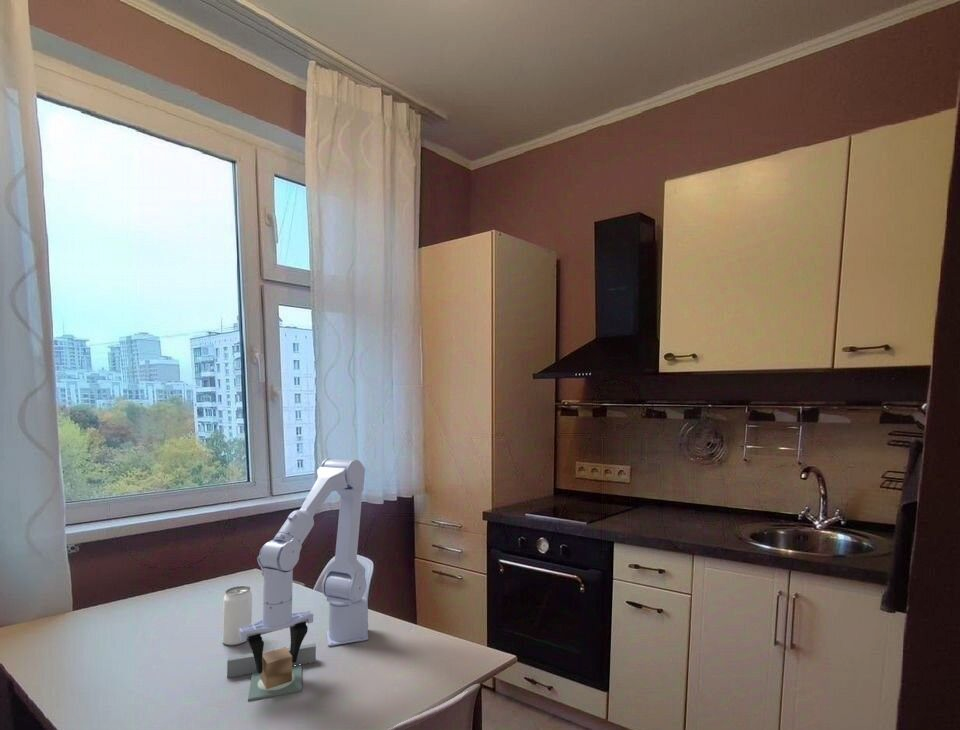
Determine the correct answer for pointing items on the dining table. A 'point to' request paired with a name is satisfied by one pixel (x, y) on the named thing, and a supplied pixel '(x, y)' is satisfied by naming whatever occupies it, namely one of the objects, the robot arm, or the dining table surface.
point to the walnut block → (276, 667)
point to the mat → (260, 691)
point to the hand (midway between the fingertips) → (276, 665)
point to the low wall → (247, 662)
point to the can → (236, 613)
